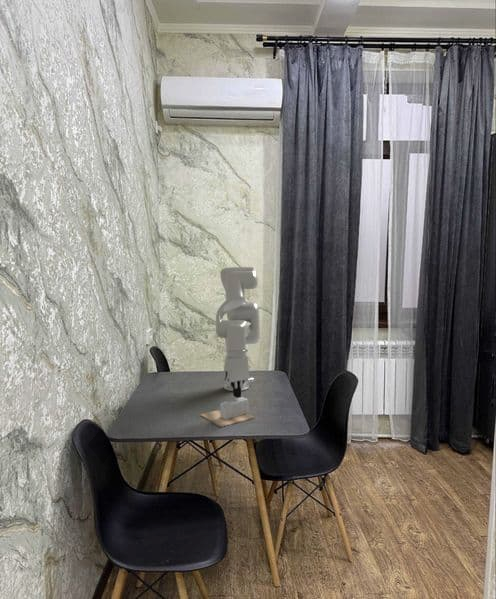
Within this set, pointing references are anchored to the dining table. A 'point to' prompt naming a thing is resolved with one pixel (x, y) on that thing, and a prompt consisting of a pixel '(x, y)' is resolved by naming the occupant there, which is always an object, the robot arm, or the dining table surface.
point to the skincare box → (234, 408)
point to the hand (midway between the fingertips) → (237, 396)
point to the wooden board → (222, 422)
